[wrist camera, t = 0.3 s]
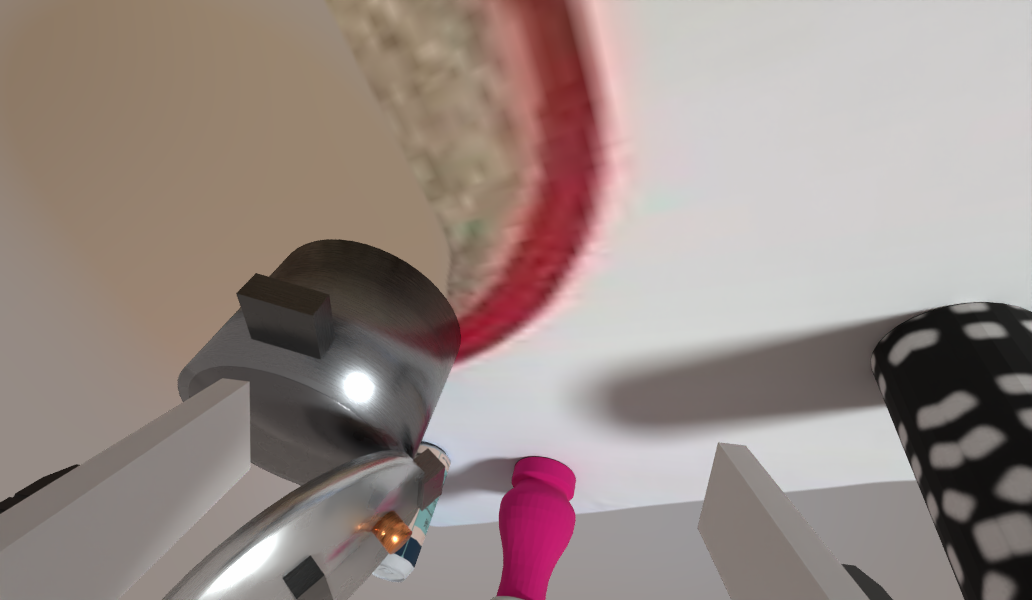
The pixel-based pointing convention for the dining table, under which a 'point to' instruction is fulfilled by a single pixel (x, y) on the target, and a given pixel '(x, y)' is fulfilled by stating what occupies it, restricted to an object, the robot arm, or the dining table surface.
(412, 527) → the beer can
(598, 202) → the dining table surface
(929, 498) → the white-spotted black cylinder
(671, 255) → the dining table surface
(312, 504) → the pot lid
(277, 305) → the cooking pot
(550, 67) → the dining table surface
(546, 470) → the pepper mill
